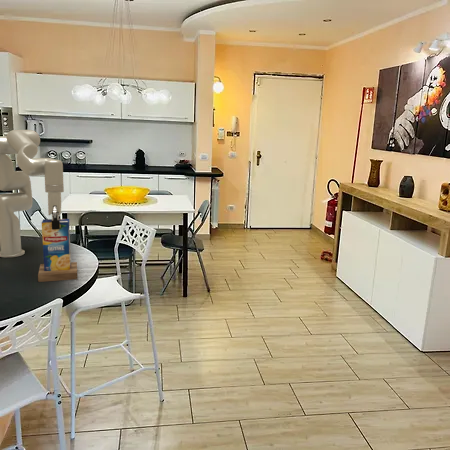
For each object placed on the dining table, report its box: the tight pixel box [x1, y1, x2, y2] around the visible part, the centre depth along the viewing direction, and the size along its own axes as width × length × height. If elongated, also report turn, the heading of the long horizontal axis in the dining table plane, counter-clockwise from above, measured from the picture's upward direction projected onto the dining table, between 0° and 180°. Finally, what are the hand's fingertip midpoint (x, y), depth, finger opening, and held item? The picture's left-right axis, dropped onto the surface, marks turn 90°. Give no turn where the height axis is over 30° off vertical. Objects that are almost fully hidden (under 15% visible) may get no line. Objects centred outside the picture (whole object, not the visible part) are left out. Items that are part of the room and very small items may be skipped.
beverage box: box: [41, 218, 72, 271], centre depth 196 cm, size 7×11×22 cm, turn 106°
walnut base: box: [37, 261, 78, 283], centre depth 199 cm, size 16×16×3 cm
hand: (56, 226), depth 194 cm, fingers open, 9 cm apart
